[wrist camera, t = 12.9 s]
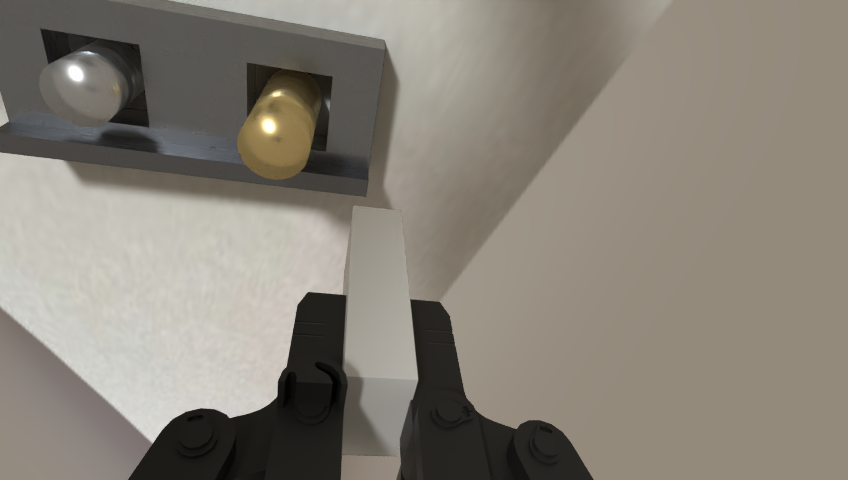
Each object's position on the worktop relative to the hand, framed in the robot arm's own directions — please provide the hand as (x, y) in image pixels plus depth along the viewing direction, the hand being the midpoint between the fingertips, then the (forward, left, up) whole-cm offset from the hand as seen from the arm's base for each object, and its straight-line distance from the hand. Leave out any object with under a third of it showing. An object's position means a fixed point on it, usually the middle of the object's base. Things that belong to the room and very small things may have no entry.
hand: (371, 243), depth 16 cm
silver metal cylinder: (+5, -19, -26) cm, 33 cm away
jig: (+5, -12, -26) cm, 29 cm away
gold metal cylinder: (+5, -6, -26) cm, 27 cm away
